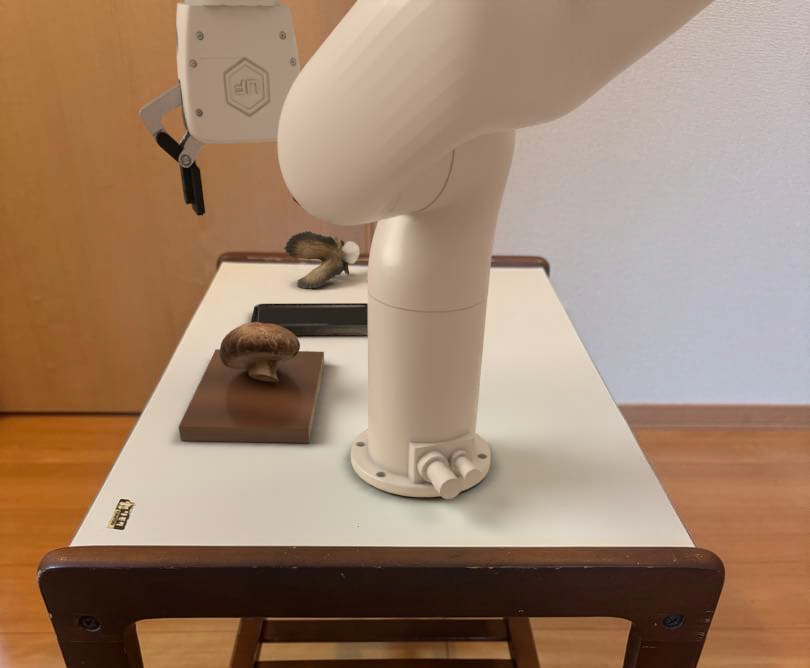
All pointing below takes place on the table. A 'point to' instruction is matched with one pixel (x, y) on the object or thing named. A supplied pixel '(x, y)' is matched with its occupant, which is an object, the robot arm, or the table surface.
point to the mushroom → (258, 349)
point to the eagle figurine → (322, 256)
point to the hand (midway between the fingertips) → (250, 207)
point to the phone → (315, 317)
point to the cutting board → (255, 403)
